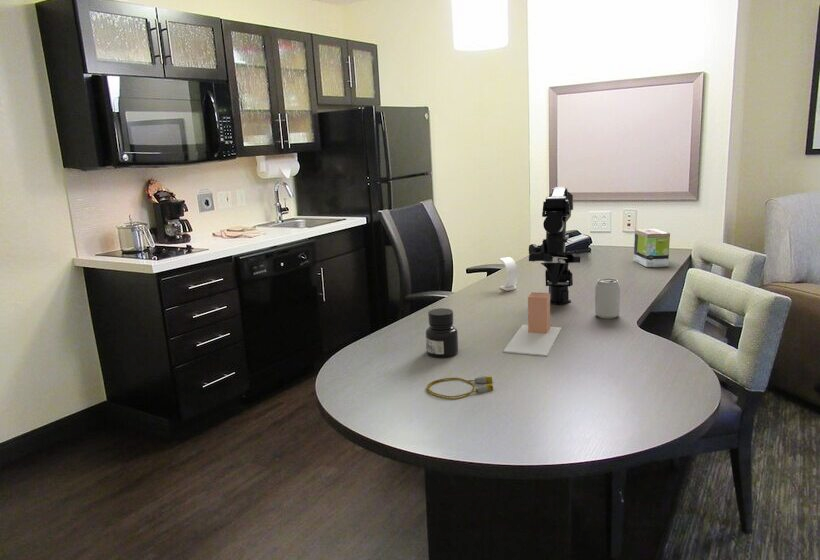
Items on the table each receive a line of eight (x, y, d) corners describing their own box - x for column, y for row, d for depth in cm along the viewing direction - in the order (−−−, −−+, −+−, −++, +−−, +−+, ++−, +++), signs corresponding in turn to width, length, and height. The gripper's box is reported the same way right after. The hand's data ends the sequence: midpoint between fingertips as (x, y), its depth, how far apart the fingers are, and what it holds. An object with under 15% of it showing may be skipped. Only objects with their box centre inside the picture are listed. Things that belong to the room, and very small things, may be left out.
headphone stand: (509, 286, 229) (508, 256, 226) (518, 289, 224) (518, 259, 221) (499, 288, 227) (499, 258, 225) (508, 291, 222) (508, 260, 219)
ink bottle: (421, 350, 164) (418, 310, 161) (448, 344, 167) (446, 305, 164) (435, 361, 155) (433, 318, 152) (464, 355, 158) (463, 313, 156)
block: (532, 326, 178) (531, 292, 175) (550, 327, 176) (550, 293, 173) (528, 332, 173) (527, 296, 170) (546, 333, 170) (546, 297, 168)
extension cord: (487, 405, 129) (487, 396, 128) (420, 398, 134) (420, 390, 134) (497, 383, 140) (497, 375, 140) (436, 377, 145) (435, 370, 145)
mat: (522, 325, 180) (522, 324, 180) (561, 328, 175) (561, 327, 175) (503, 352, 159) (503, 350, 159) (547, 356, 154) (547, 354, 154)
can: (621, 319, 181) (622, 282, 178) (596, 319, 182) (596, 282, 180) (617, 312, 188) (618, 276, 185) (593, 312, 190) (594, 277, 187)
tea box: (669, 266, 247) (670, 232, 244) (645, 267, 247) (647, 233, 244) (655, 259, 262) (656, 227, 258) (632, 261, 262) (634, 228, 259)
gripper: (554, 239, 196) (553, 284, 196) (516, 235, 185) (515, 284, 185) (581, 237, 187) (580, 285, 187) (543, 233, 176) (542, 284, 176)
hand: (554, 284), depth 184 cm, fingers closed
